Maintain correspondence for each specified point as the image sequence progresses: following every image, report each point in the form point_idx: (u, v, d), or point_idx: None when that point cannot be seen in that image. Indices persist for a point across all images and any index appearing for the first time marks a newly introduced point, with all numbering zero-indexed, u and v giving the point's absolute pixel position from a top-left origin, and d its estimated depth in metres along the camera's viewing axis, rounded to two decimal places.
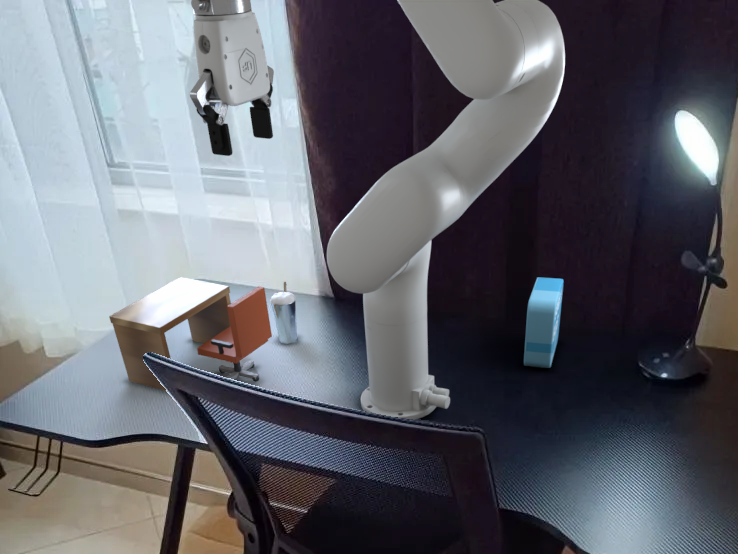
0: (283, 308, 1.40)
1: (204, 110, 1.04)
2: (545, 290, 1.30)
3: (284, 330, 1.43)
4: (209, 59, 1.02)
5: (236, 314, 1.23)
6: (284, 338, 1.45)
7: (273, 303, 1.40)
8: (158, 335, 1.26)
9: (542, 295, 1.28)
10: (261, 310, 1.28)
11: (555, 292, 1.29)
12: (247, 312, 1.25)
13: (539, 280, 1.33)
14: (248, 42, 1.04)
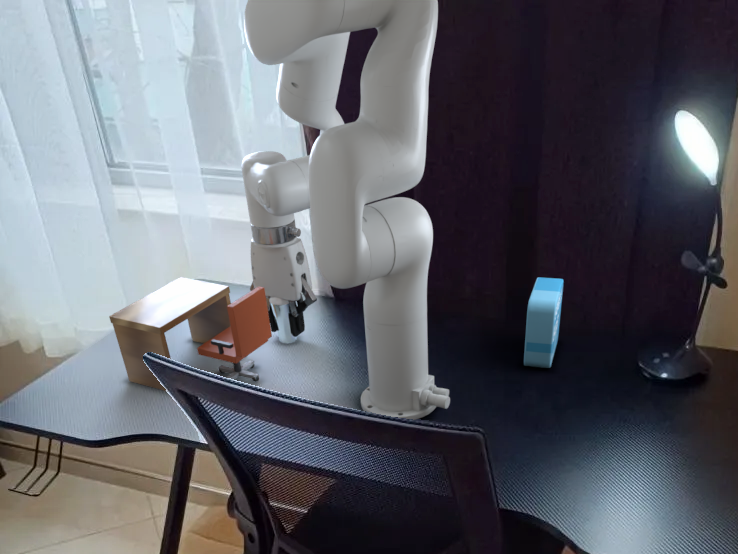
0: (282, 308, 1.40)
1: None
2: (545, 290, 1.30)
3: (284, 330, 1.43)
4: (304, 266, 1.36)
5: (236, 314, 1.23)
6: (284, 338, 1.45)
7: (272, 303, 1.40)
8: (158, 335, 1.26)
9: (542, 295, 1.28)
10: (261, 310, 1.28)
11: (555, 292, 1.29)
12: (247, 312, 1.25)
13: (539, 280, 1.33)
14: None
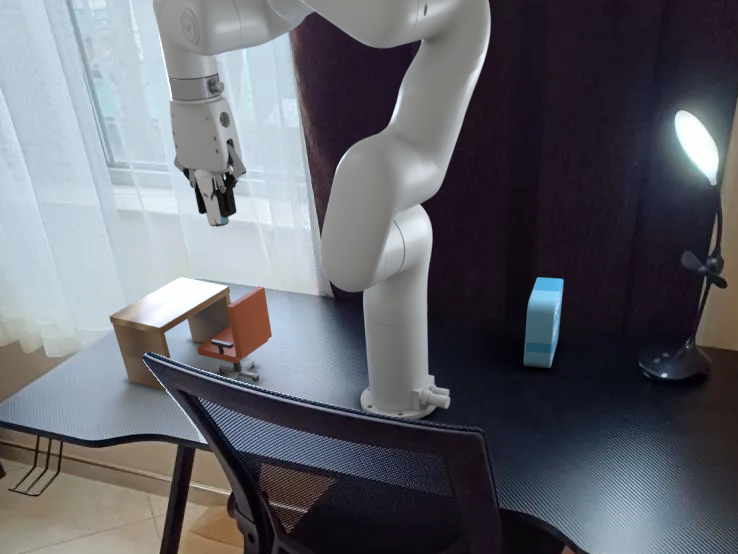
0: (208, 182, 1.24)
1: (237, 178, 1.24)
2: (545, 290, 1.30)
3: (212, 209, 1.27)
4: (230, 130, 1.20)
5: (236, 314, 1.23)
6: (213, 220, 1.28)
7: (197, 176, 1.24)
8: (158, 335, 1.26)
9: (542, 295, 1.28)
10: (261, 310, 1.28)
11: (555, 292, 1.29)
12: (247, 312, 1.25)
13: (539, 280, 1.33)
14: None
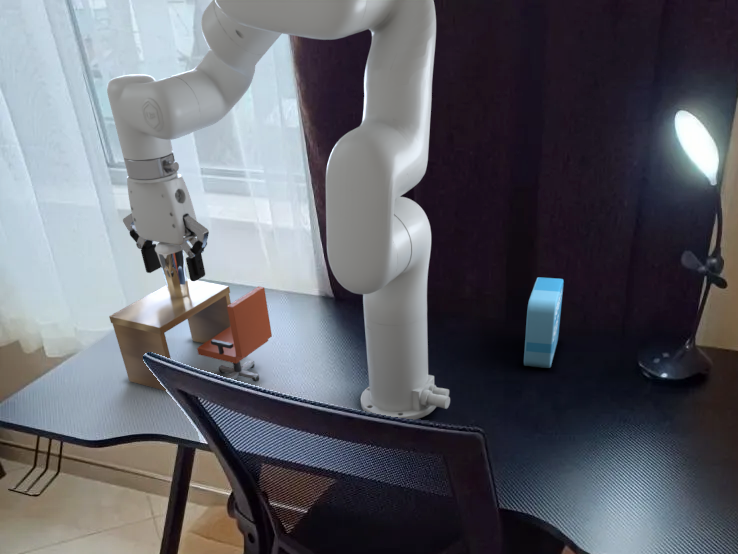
0: (168, 257, 1.29)
1: (205, 243, 1.26)
2: (545, 290, 1.30)
3: (172, 282, 1.32)
4: (186, 205, 1.24)
5: (236, 314, 1.23)
6: (173, 292, 1.33)
7: (157, 252, 1.28)
8: (158, 335, 1.26)
9: (542, 295, 1.28)
10: (261, 310, 1.28)
11: (555, 292, 1.29)
12: (247, 312, 1.25)
13: (539, 280, 1.33)
14: None
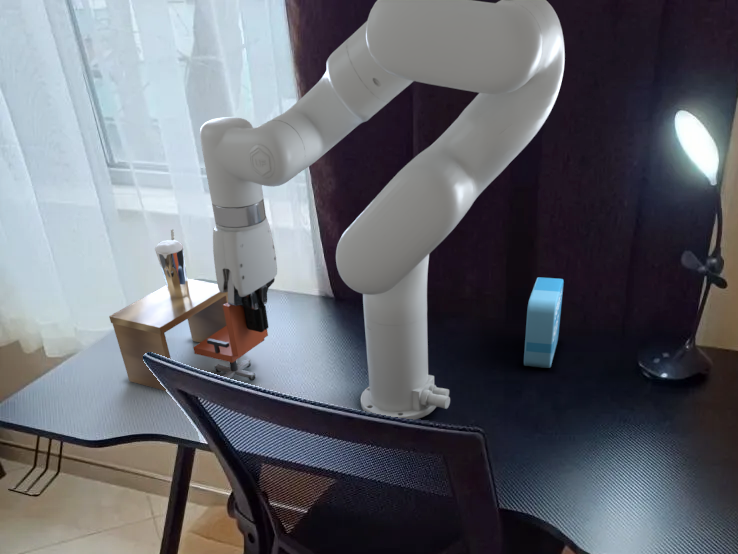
0: (168, 257, 1.29)
1: None
2: (545, 290, 1.30)
3: (172, 282, 1.32)
4: None
5: (232, 313, 1.23)
6: (173, 292, 1.33)
7: (157, 252, 1.28)
8: (158, 335, 1.26)
9: (542, 295, 1.28)
10: None
11: (555, 292, 1.29)
12: (243, 311, 1.25)
13: (539, 280, 1.33)
14: None
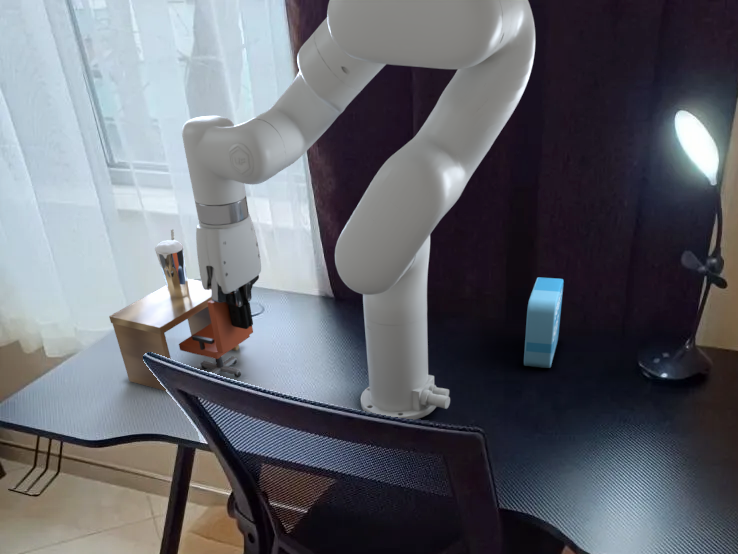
0: (168, 257, 1.29)
1: None
2: (545, 290, 1.30)
3: (172, 282, 1.32)
4: None
5: (216, 310, 1.24)
6: (173, 292, 1.33)
7: (157, 252, 1.28)
8: (158, 335, 1.26)
9: (542, 295, 1.28)
10: None
11: (555, 292, 1.29)
12: (227, 308, 1.26)
13: (539, 280, 1.33)
14: None
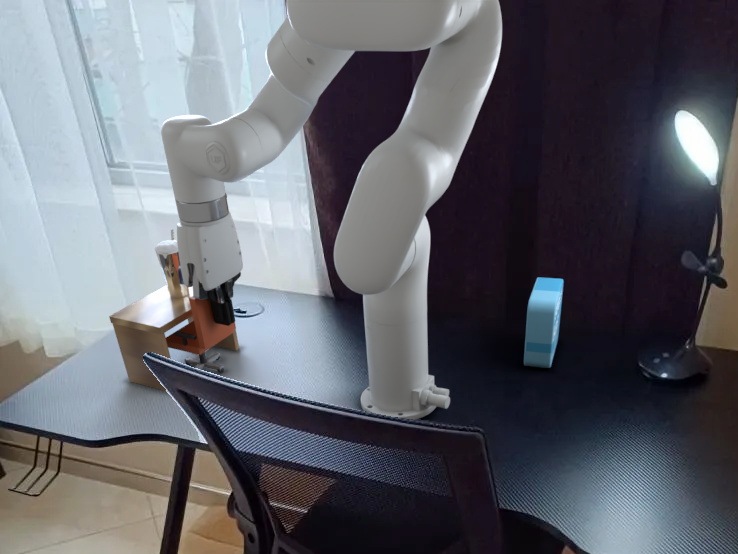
0: (168, 257, 1.29)
1: None
2: (546, 290, 1.30)
3: (172, 282, 1.32)
4: None
5: (198, 306, 1.25)
6: (173, 292, 1.33)
7: (157, 252, 1.28)
8: (158, 335, 1.26)
9: (542, 295, 1.28)
10: None
11: (555, 292, 1.29)
12: (209, 304, 1.28)
13: (539, 280, 1.33)
14: None
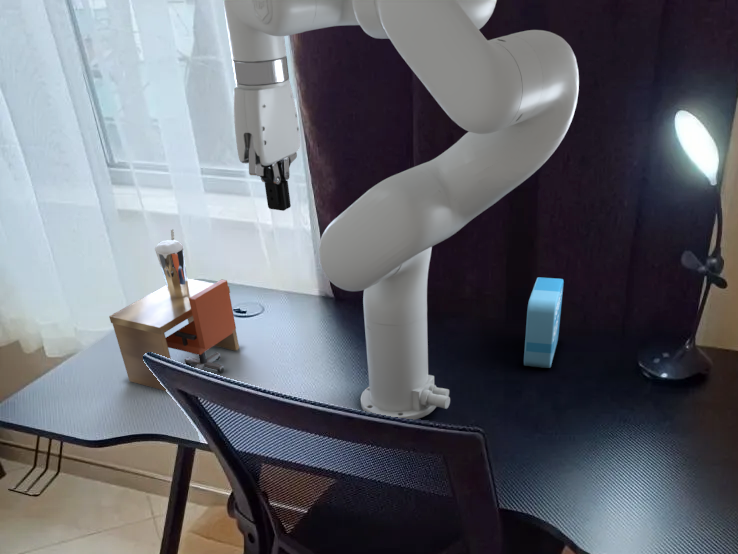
0: (168, 257, 1.29)
1: None
2: (545, 290, 1.30)
3: (172, 282, 1.32)
4: None
5: (198, 306, 1.25)
6: (173, 292, 1.33)
7: (157, 252, 1.28)
8: (158, 335, 1.26)
9: (542, 295, 1.28)
10: (224, 302, 1.31)
11: (555, 292, 1.29)
12: (209, 304, 1.28)
13: (539, 280, 1.33)
14: None
